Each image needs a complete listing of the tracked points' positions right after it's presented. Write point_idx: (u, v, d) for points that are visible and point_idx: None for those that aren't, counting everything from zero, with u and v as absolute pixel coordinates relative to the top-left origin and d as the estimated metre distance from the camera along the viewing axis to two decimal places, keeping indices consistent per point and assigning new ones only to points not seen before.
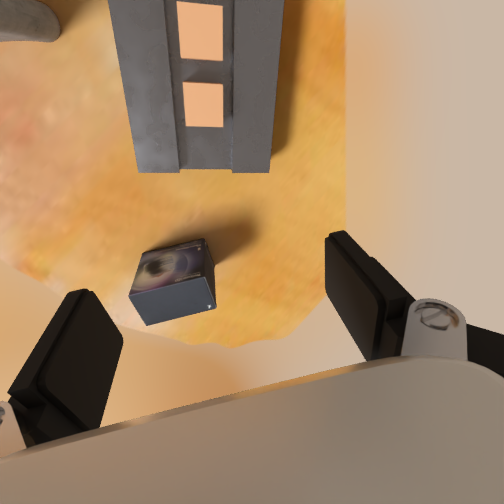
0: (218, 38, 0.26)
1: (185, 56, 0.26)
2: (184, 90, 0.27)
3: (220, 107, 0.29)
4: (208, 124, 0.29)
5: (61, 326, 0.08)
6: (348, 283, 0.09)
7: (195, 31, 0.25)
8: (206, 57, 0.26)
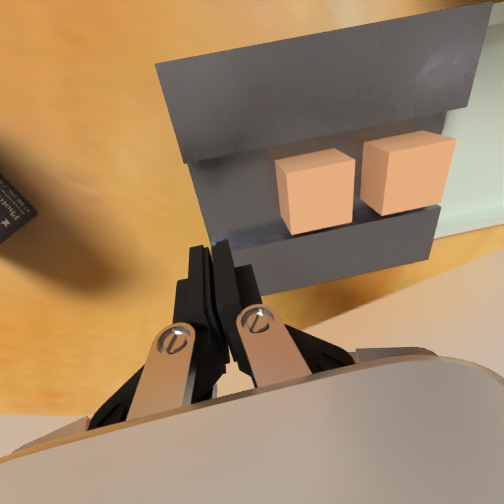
0: (407, 205, 0.17)
1: (390, 160, 0.16)
2: (343, 164, 0.15)
3: (320, 224, 0.17)
4: (293, 211, 0.16)
5: (202, 270, 0.10)
6: None
7: (418, 171, 0.16)
8: (386, 192, 0.17)
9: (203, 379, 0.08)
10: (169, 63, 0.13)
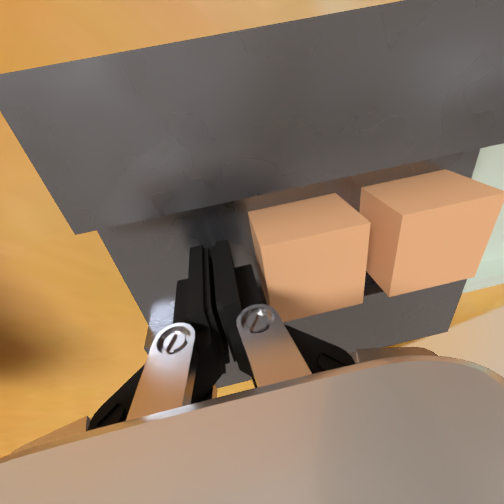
0: (426, 281, 0.12)
1: (403, 226, 0.10)
2: (351, 229, 0.10)
3: (315, 309, 0.12)
4: (274, 296, 0.11)
5: (202, 270, 0.10)
6: None
7: (445, 239, 0.11)
8: (397, 268, 0.11)
9: (203, 379, 0.08)
10: (9, 77, 0.07)
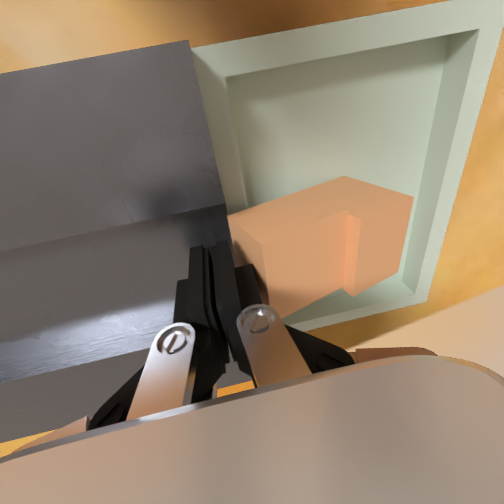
0: None
1: None
2: (335, 217, 0.11)
3: (307, 300, 0.12)
4: (273, 293, 0.11)
5: (202, 270, 0.10)
6: None
7: None
8: None
9: (203, 379, 0.08)
10: None
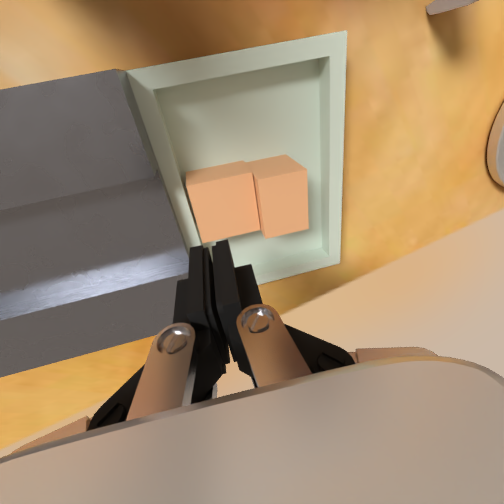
0: None
1: (306, 176, 0.16)
2: (241, 176, 0.16)
3: (229, 232, 0.18)
4: (200, 221, 0.17)
5: (202, 270, 0.10)
6: None
7: None
8: (307, 206, 0.17)
9: (203, 379, 0.08)
10: None
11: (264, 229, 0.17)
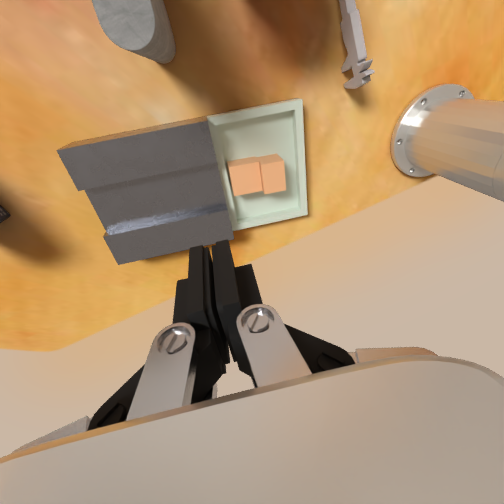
0: None
1: None
2: (253, 163, 0.35)
3: (247, 191, 0.37)
4: (233, 184, 0.36)
5: (202, 270, 0.10)
6: None
7: None
8: None
9: (203, 379, 0.08)
10: (63, 150, 0.30)
11: (264, 189, 0.36)
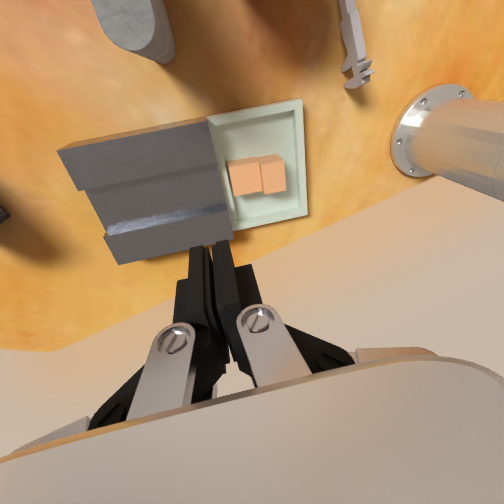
0: None
1: None
2: (253, 163, 0.35)
3: (247, 191, 0.37)
4: (233, 185, 0.36)
5: (202, 270, 0.10)
6: None
7: None
8: None
9: (203, 379, 0.08)
10: (63, 150, 0.30)
11: (264, 189, 0.36)
